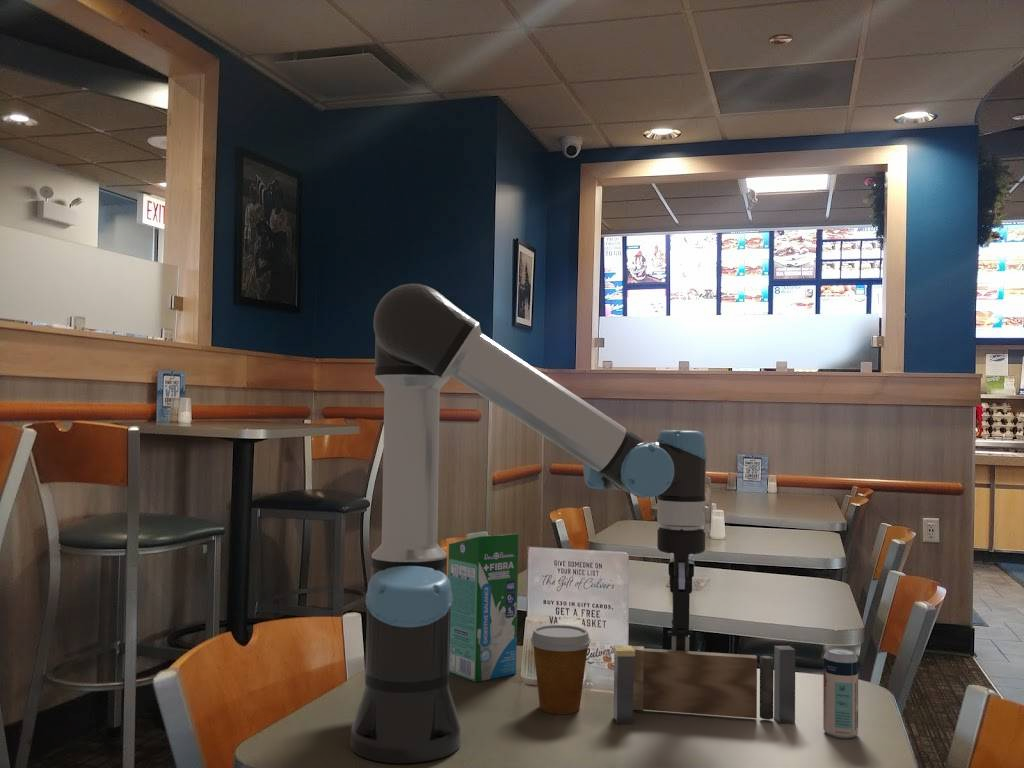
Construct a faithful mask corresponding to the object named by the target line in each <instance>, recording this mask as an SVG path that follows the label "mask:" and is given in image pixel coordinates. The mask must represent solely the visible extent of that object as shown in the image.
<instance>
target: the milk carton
mask: <svg viewBox="0 0 1024 768" xmlns="http://www.w3.org/2000/svg"><path fill="white" fill-rule="evenodd" d="M519 535H520V534H519V533H508V534H495V535H494V534H493V535H489V532H488V531H479V532H478V531H477V532H472V533H467V534H466V539H464V540H459V541H455V542H452V543H449V544H448V560H447V577H448V578H449V580H450V583H451V591H452V596H453V599H452V605H451V625H450V671H449V673H452V674H454V675H456V676H459V677H461V678H464V679H467V680H470V681H472V682H475V683H479V682H484V681H489V680H494V679H498V678H503V677H507V676H512V675H513V676H514V675H516V674H517V643H518V641H517V639H518V635H517V634H518V591H519V590H518V589H519V588H518V586H519V585H518V584H519V583H518V578H519Z"/></svg>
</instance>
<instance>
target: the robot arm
mask: <svg viewBox="0 0 1024 768" xmlns="http://www.w3.org/2000/svg"><path fill="white" fill-rule="evenodd" d="M373 331H374V334H375V343H374V344H375V348H374V350H375V351H374V352H375V353H374V357H375V358H374V378H375V380H376V381H377V382H378V383H379V384H380V385H381V386H382V388H383V389H384V394H383V396H384V401H383V447H382V448H383V449H382V450H383V455H382V462H383V463H382V504H381V505H382V509H381V543H380V545H378V546H379V547H377V548H376V549H375V550H374V551H373V552H372V553H371V565H370V566H371V574H370V579H369V580H368V583H367V591H366V594H365V605H366V629H365V631H366V632H365V633H366V634H365V672H364V673H365V675H364V678H365V679H364V680H365V681H364V689H363V693H362V696H361V698H360V699H361V700H360V702H359V704H358V708H357V711H356V713H355V717H354V719H353V721H352V725H351V729H350V748H351V750H352V752H353V753H355V754H356V755H358V756H360V757H362V758H364V759H367V760H371V761H373V762H375V761H376V762H379V763H387V764H388V763H389V764H414V763H415V764H416V763H425V762H431V761H435V760H439V759H441V758H445V757H447V756H450V755H452V754H454V753H455V752H456V751H458V749H460V746H461V744H462V727H461V722H460V719H459V715H458V712H457V709H456V705H455V701H454V698H453V695H452V692H451V689H450V672H449V671H450V625H451V605H452V599H453V596H452V591H451V583H450V580H449V578H448V553H447V552H446V551H445V550H444V549H443V548H442V547H441V546H440V545H439V543H438V533H439V528H438V527H439V525H438V524H439V470H440V469H439V466H440V464H439V463H440V462H439V461H440V412H441V411H440V408H441V407H440V403H441V402H440V397H441V394H440V393H441V389H442V387H444V385H445V384H447V383H448V381H450V378H454V380H456V381H457V382H459V383H461V384H463V385H464V386H465V387H467V388H468V389H470V390H472V391H473V392H475V393H476V394H478V395H479V396H481V397H482V398H484V399H485V400H487V401H489V402H490V403H492V405H495V406H496V407H498V408H499V409H500V410H503V411H504V412H505V413H507V414H508V415H510V416H511V417H512V418H514V419H516V420H517V421H519V422H521V423H522V424H524V425H525V426H527V427H528V428H530V429H531V430H533V431H535V432H536V433H538V434H539V435H541V436H542V437H544V438H545V439H546V440H549V441H550V442H552V443H553V444H555V445H556V446H558V447H559V448H561V450H564V451H565V452H567V453H568V454H570V455H571V456H573V457H575V458H576V459H578V460H579V461H580V462H582V466H583V467H582V468H583V469H582V471H583V472H582V473H583V479H584V482H585V485H586V487H588V488H589V489H591V490H593V489H595V490H597V489H598V490H603V491H606V490H607V491H608V490H617V491H622V492H625V493H628V494H632V496H635V497H636V498H640V499H641V498H643V499H644V498H654V497H657V500H656V502H657V504H656V506H657V509H656V510H657V511H656V513H657V517H656V521H657V524H658V525H660V526H659V527H658V529H657V536H656V537H657V538H656V539H657V545H656V547H657V550H659V551H660V552H662V553H665V554H673V561H668V575H669V590H670V592H671V593H672V619H671V625H672V626H671V630H668V631H667V636H669V637H671V650H679V651H690V634H694V629H693V628H690V594H692V592H693V577H694V575H695V565H694V563H693V562H690V561H689V557H690V555H699V554H703V553H704V552H705V550H706V531H705V529H704V528H702V527H703V526H705V524H706V522H705V521H706V513H709V512H710V508H709V506H705V505H706V478H707V477H706V474H707V473H706V472H707V449H706V438H705V435H704V433H703V432H701V431H699V430H673V429H671V430H667V429H665V430H664V429H663V430H661V431H659V433H658V435H657V436H658V437H657V440H656V441H651V442H647V441H645V440H644V439H643V438H641V437H640V436H638V435H636V434H635V433H634V432H632V431H630V430H628V429H627V428H626V427H624V426H623V425H621V423H619V422H617V421H616V420H614V419H613V418H611V417H610V416H608V415H606V414H605V413H603V412H602V411H601V410H599V409H597V408H596V407H594V406H593V405H591V404H590V403H588V402H587V401H585V400H584V399H582V398H581V397H579V396H578V395H576V394H575V393H573V392H571V391H570V390H569V389H567V388H565V386H562V385H561V384H560V383H558V382H556V381H555V380H554V379H552V378H550V377H549V376H548V375H546V374H544V373H543V372H541V371H540V370H538V369H537V368H536V367H534V366H532V365H531V364H529V363H528V362H526V361H524V360H523V359H522V358H520V357H518V356H517V355H516V354H514V353H513V352H511V351H510V350H508V349H506V348H505V347H503V346H502V345H500V344H499V343H497V342H496V341H495V340H493V339H491V337H488V336H487V335H486V334H484V333H483V331H482V330H481V324H480V322H479V321H477V320H476V319H474V318H473V317H472V316H470V315H468V314H467V313H466V312H464V311H463V310H462V309H460V308H459V307H458V306H456V305H455V304H453V302H451V301H450V300H449V299H448V298H446V297H445V296H444V295H443V294H441V293H440V292H439V291H437V290H436V289H434V288H432V287H430V286H428V285H424V284H421V283H406V284H402V285H399V286H396V287H394V288H392V289H391V290H390V291H388V292H387V293H386V294H385V295H383V297H382V298H380V300H379V302H378V304H377V306H376V307H375V310H374V315H373ZM704 513H705V514H704Z"/></svg>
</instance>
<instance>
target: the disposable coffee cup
mask: <svg viewBox="0 0 1024 768" xmlns="http://www.w3.org/2000/svg"><path fill="white" fill-rule="evenodd" d="M532 632H533V633H532V635H531V636H530V642H531V644H532V646H533V652H534V653H533V656H534V664H535V673H536V674H535V675H536V683H537V685H536V686H537V694H538V703H539V708H540V710H541V711H543V712H546V713H550V714H556V715H568V714H573V713H577V712H579V711H580V708H581V700H582V693H583V686H584V676H585V671H586V663H587V654H588V650H589V647H590V644H591V641H592V640H591V638H590V637H589V636H590V634H589V631H588V630H587V629H586V628H583V627H580V626H575V625H567V624H551V625H550V624H549V625H542V626H538V627H536V628H534V629H533V631H532Z"/></svg>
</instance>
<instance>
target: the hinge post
mask: <svg viewBox="0 0 1024 768" xmlns="http://www.w3.org/2000/svg"><path fill="white" fill-rule="evenodd" d="M773 649H774V653H773V658H774V667H773V719H774V720H776V722H778V723H779V724H796V649H795V648H793V647H792V646H791V645H774V646H773Z"/></svg>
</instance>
